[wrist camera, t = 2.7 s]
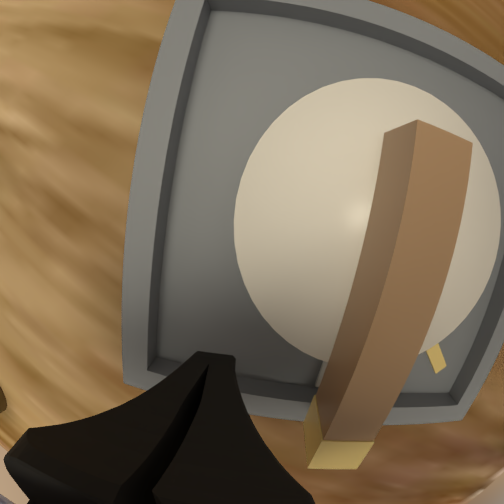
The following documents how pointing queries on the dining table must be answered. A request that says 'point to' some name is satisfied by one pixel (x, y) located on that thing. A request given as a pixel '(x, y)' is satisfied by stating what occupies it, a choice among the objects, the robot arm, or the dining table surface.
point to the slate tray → (229, 176)
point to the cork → (2, 401)
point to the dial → (365, 244)
